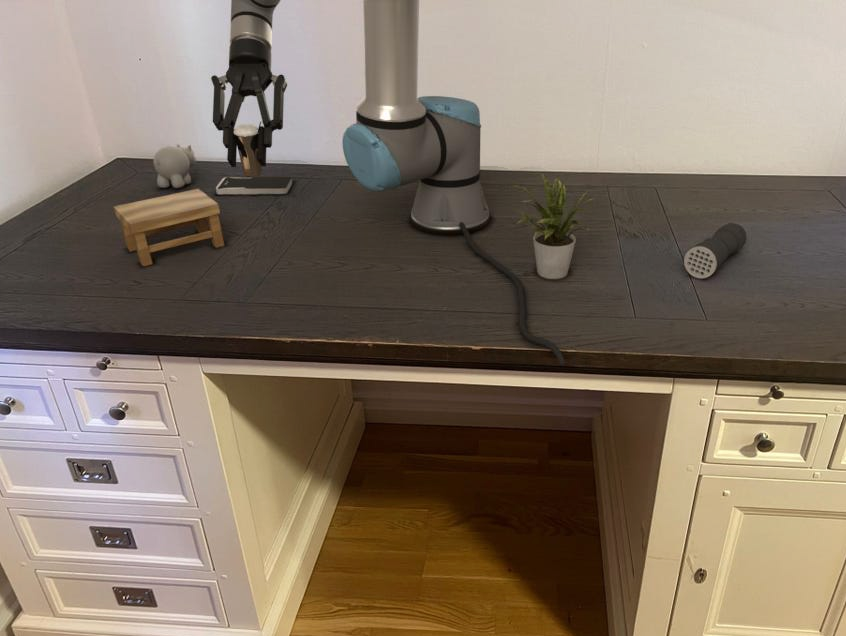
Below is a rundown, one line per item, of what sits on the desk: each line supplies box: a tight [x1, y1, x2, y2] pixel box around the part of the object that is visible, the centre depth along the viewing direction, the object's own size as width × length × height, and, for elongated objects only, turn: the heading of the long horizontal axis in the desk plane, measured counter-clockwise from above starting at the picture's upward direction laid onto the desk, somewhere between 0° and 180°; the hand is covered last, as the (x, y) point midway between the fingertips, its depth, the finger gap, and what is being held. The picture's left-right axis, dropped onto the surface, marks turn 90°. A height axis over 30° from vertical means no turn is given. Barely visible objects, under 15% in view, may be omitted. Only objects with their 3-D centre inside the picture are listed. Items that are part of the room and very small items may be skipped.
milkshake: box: [234, 121, 263, 177], centre depth 131 cm, size 4×5×10 cm
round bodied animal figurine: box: [153, 143, 197, 189], centre depth 158 cm, size 7×12×8 cm, turn 165°
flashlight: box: [683, 222, 747, 279], centre depth 124 cm, size 15×5×5 cm, turn 142°
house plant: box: [512, 172, 595, 280], centre depth 118 cm, size 14×14×16 cm
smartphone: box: [215, 176, 293, 195], centre depth 156 cm, size 8×1×15 cm
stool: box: [113, 188, 225, 267], centre depth 128 cm, size 10×15×8 cm, turn 128°
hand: (246, 162), depth 129 cm, fingers closed on milkshake, 5 cm apart
